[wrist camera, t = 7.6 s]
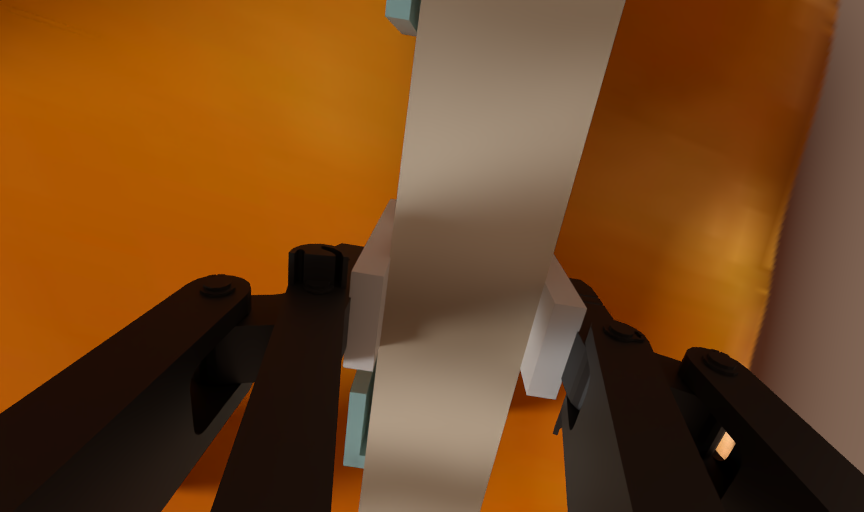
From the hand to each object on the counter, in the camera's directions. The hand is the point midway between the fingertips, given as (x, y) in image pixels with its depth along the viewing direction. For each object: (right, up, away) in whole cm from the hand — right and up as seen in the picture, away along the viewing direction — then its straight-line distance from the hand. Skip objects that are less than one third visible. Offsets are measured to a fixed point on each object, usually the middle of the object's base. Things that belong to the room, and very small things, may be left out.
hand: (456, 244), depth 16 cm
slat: (0, 0, +1) cm, 1 cm away
